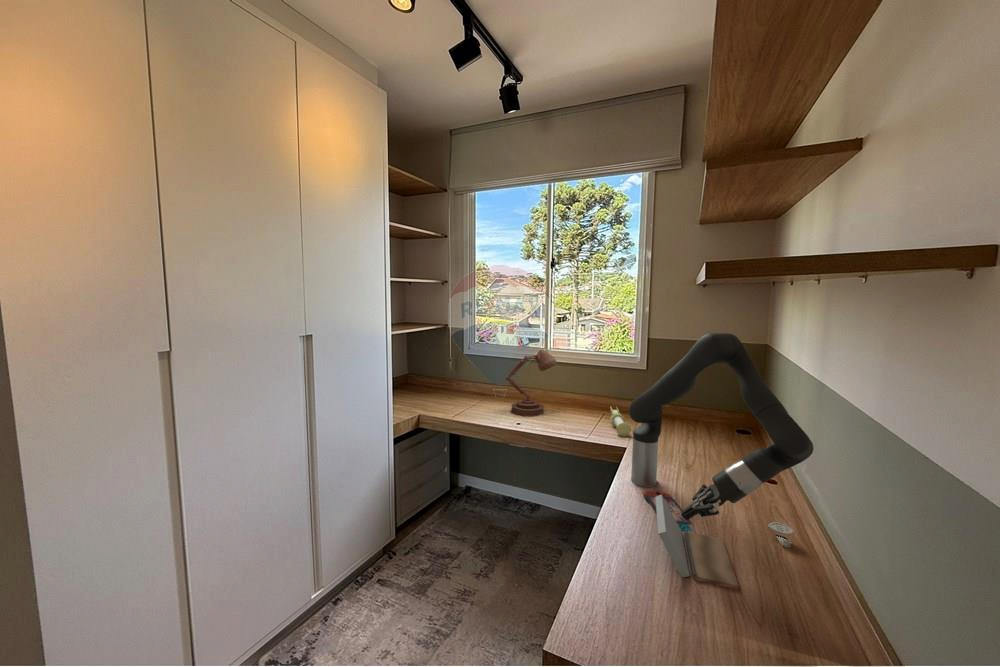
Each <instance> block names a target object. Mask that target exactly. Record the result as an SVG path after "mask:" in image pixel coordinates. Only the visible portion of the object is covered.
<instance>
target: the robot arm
mask: <svg viewBox="0 0 1000 667" xmlns="http://www.w3.org/2000/svg"><path fill="white" fill-rule="evenodd" d="M720 364H722V365H723V364H726V365H727V366H728V367H730V369H731V370H732V371H734V373H735V375H736V377H737V378H738V380H739V386H740V394H741V396H742V399H743V401H744V403H745V405H746V406H747V408H748V409H749V410H750V412H751V413H752V415H753V416H754V417H755V418H756V420H757V421H758V422H759V423H760V424H761V425H762V426H763V428H764V430H765V431H766V433H767V435H768V436H769V438H770V439H771V441H772V442H773V443H770V444H769V445H768V446H766V447H763V448H758V449H757V448H756V449H755V450H753V451H751V452H749V453H748V454H747V455H746V456H744V457H742V458H741V459H739V460H737V461H735V462H733V463H731V464H730V465H729V466H727V467H726V468H724V469H723V470H721V471H720V472H718V473H717V474H716V475H714V476H713V477H712V478H711V481H712V483H713V484H710V485H709V486H707V485H706V484H702V485H701V486H700V487H699V489H698V490H697V492H696V493H694V495H693V497H692V498H691V502H690V505H688V506H686V507H685V508H683V509H682V511H681V515H682V517H683V518H684V519H685V520H690V519H692V518H693V517H695V516H696V515H698V516H700V517H702V518H703V517H710V516H716V515H719V514H720V511H719V510H718V508H719V507H721V506H723V505H724V504H725V503H726V502H727V501H729V503H732V504H736V503H737V502H739V501H740V500H742V499H744V498H746V497H747V496H749V495H750V494H751V493H753V492H755V491H756V490H757V489H759V488H760V487H761V486H762V485H763V484H766V483H767V482H768V481H769V480H771V479H773V478H774V477H776V476H777V475H778V474H780V473H781V472H783V471H785V470H786V471H787V470H788V469H791V468H792V467H795V466H796V465H797V466H798V465H799V464H800V463H802V462H804V461H806V460H807V459H808V458H810V457H811V455H812V454H813V452H814V449H815V448H814V444H813V441H812V440H811V439H810V437H809V436H808V434H807V433H806V432H805V431H804V430H803V429H802V427H801V426H800V425H799V424H798V423H797V422H796V421H795V419H793V417H791V415H790V414H789V413H788V411H787V409H786V407H785V406H784V405H783V403H781V401H780V400H779V398H778V397H777V396H776V395H775V393H774V392H773V391H772V390H771V389H770V387H769V386H768V384H767V383H766V382H765V381H764V379H763V378H762V376H761V374H760V372H759V370H758V369H757V368H756V365H755V364H754V362H753V360H752V359H751V357H750V355H749V353H748V352H747V349H746V348H745V346H744V344H743V343H742V342H741V340H740V339H739V338H738V336H736V335H735V334H733V333H728V332H712V333H706V334H704V335H703V336H701V337H700V338H699V339H697V341H696V342H695V343H694V345H692V347H691V348H690V349H689V351H688V352H687V353H686V354H685V355H684V356H683V357H682V358H681V359H680V360H679V361H677V363H676V364H675V365H673V367H672V368H670V369H669V370H668V371H667V372H666V373H665V374H663V375H662V376H661V377H660V379H658V381H656V382H655V383H654V384H653V385H652V386H651V387H649V388H648V389H647V390H646V391H645V392H643V393H642V394H640V395H639V396H638V397H636V398H634V399H633V400H632V401H631V402H630V404H629V407H628V414H629V417H630V418H631V420H632V421H634V422H636V423H639V424H641V425H640V426H638V427H637V428H636V427H635V429H634V430H633V433H632V453H631V454H632V456H631V473H630V474H631V478H630V479H631V482H632V483H633V484H635V485H636V486H640V487H643V488H652V487H653V488H654V487H655V486H656V485H657V476H658V473H657V472H658V459H659V458H658V455H659V454H658V453H659V437H660V435H661V432H662V424H663V414H664V412H663V406H665V405H668V404H670V403H674V402H676V401H677V400H680V399H681V398H684V396H686V395H687V394H688V393H690V391H691V390H693V389H694V387H695V386H696V383H697V378H698V376H699V375H700V373H701V372H702V371H704V370H705V369H707V368H709V367H710V366H713V365H720Z"/></svg>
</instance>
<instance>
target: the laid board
mask: <svg viewBox="0 0 1000 667" xmlns="http://www.w3.org/2000/svg"><path fill="white" fill-rule="evenodd" d="M683 532H684V534H683V535H684V540H685V541H684V542H685V545H686V550H687V556H688V561H689V566H690V571H691V576H692V580H694V581H699V582H703V583H707V584H711V585H716V586H720V587H725V588H728V589H729V588H730V589H734V590H737V591H738V590H739V589H740V586H739V582H738V579H737V576H736V573H735V570H734V568H733V565H732V562H731V559H730V556H729V554H728V551H727V548H726V545H725V541H724V539H723V537H716V536H712V535H708V534H707V535H706V534H702V533H701V534H700V533H696V532H692V531H687V530H684V531H683Z"/></svg>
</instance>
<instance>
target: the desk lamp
mask: <svg viewBox="0 0 1000 667" xmlns="http://www.w3.org/2000/svg"><path fill="white" fill-rule="evenodd" d="M526 360H534V361H536V363H537V367H538V369H539V371H540V372H544V371H549V370H550V371H551V369H553V367H555V366H556V365H557V359H556V358H555V357H554V356H553V355H552V354H550V353H549V352H548V351H547V350H545V349H541V348H540V349H539V350H538V352H537V353H536V354H534V355H525V356H524V357H523V359H519V361H518V363H516V365H515V367H513V369H511V370H510V371H509V374H508V375H507V376H505V380H506V381H508V383H509V385H511V387H513V388H514V389H515V390H516V391H518V392H519V393H520V395H524V396H525V398H522V399H521V400H518V401H516V402H513V403H512V404H511V405H510V406H511V408H512V409H511V411H510V412H511V413H512V414H514V415H516V416H521V417H537V416H538V417H539V416H541V415H544V413H545V410H544V408H545V405H544V404H543V403H540V402H539V401H538V400H537V401H536V400H534V399H531V398H530V397H531V395H529V394H527V393H526V390H525V389H523V388H522V387H521V386H520V385H519V384H518V383H517V382H515V381H514V379H511V377H512V376H514V375H515V374H516V373H517V372H518V371H519V370H520V369H521V367H523V365H525V363H526V362H525V361H526Z"/></svg>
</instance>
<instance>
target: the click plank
mask: <svg viewBox="0 0 1000 667" xmlns="http://www.w3.org/2000/svg"><path fill="white" fill-rule="evenodd" d="M655 498H656V511H657V514H656V520H657V531H658V532H657V533H658V536H659V538H660V540H661V541H662V543H663V545H664V547H665V549H666V551H667V552H668V554H669V556H670V558H671V560H672V562H673V563H674V566H675V567H676V569H677V572H678V573H679V575H680V576H681V578H687V577H691V575H690V569H689V564H688V558H687V553H686V549H685V541H684V537H683V531H681V529H680V528H679V526H678V524H677V522H676V520H675V518H674V516H673V515H672V513H671V511H670V509H669V507H668V505H667V504H666V502H665V500H664V498H663V496H662V495H659V496H656V497H655Z"/></svg>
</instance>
